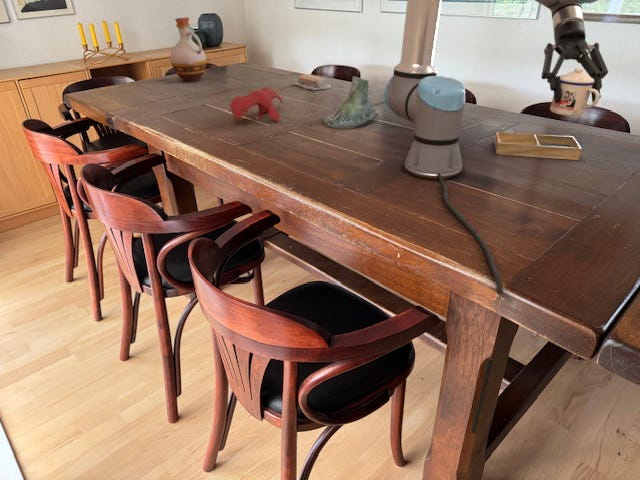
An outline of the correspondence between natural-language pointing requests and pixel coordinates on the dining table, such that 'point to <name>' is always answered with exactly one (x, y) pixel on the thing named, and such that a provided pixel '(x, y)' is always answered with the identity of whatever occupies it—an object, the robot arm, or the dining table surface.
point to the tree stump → (353, 108)
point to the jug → (187, 54)
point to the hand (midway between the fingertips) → (577, 100)
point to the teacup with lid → (574, 94)
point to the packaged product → (312, 82)
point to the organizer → (537, 145)
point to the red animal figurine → (259, 98)
